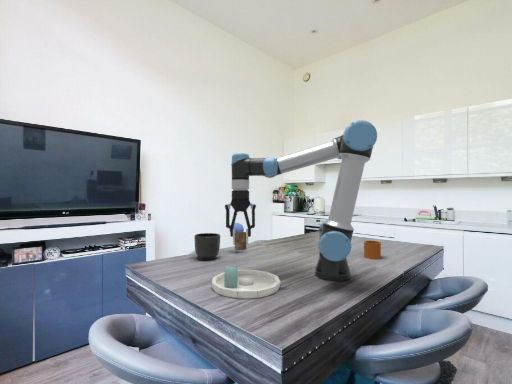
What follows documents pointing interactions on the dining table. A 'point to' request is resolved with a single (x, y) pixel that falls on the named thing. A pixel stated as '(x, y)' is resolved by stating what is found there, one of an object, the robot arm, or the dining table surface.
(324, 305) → the dining table surface
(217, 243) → the planter
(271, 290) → the round cream tray
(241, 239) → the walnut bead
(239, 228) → the baby rattle
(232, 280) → the teal cylinder
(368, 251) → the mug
